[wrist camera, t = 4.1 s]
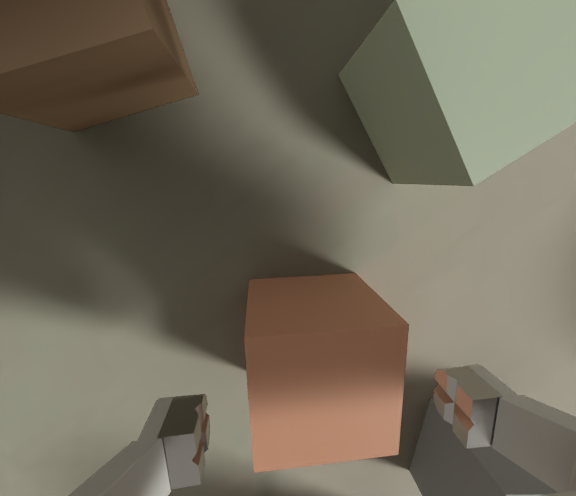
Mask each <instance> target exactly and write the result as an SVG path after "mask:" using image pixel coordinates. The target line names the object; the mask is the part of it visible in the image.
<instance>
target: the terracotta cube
mask: <svg viewBox="0 0 576 496" xmlns="http://www.w3.org/2000/svg"><path fill="white" fill-rule="evenodd" d="M408 330H409V324H408V323H407V322H406V321H405V320H404V319H403V318H402V317H401V316H400V315H399V314H397V313H396V312H395V311H394V310H393V309H392V308H391V307H390V306H389V305H388V304H387V303H386V302H385V301H384V300H383V299H382V298H381V297H380V296H379V295H378V294H377V293H376V292H375V291H374V290H372V289H371V288H370V287H369V286H368V285H367V284H366V283H365V282H364V281H363V280H362V279H361V278H360V277H359V276H358V275H357V274H356V273H349V274H332V275H316V276H299V277H283V278H267V279H250V280H249V288H248V299H247V310H246V321H245V332H244V345H245V358H246V372H247V386H248V399H249V413H250V427H251V440H252V454H253V467H254V473H256V472H264V471H272V470H280V469H288V468H296V467H304V466H312V465H320V464H328V463H336V462H344V461H352V460H360V459H368V458H376V457H384V456H392V455H398V453H399V441H400V429H401V416H402V404H403V391H404V379H405V367H406V354H407V342H408Z"/></svg>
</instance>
